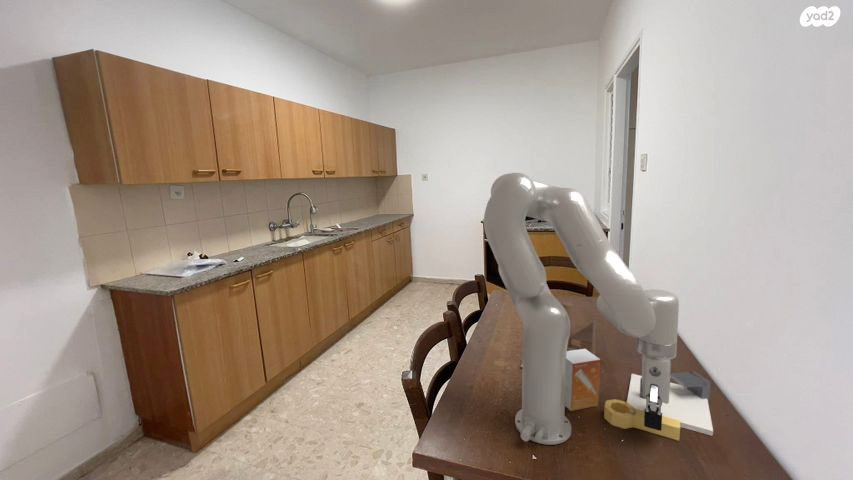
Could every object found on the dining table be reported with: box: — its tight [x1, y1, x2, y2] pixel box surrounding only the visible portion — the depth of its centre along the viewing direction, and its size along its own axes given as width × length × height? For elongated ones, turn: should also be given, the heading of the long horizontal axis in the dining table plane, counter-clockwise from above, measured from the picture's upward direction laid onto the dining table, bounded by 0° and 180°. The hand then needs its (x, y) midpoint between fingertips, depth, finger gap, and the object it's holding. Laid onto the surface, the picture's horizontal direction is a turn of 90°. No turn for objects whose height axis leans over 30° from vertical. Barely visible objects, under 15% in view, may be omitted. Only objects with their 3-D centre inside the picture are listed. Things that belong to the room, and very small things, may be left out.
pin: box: [639, 378, 645, 399], centre depth 92 cm, size 2×2×6 cm
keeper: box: [670, 371, 712, 404], centre depth 93 cm, size 7×5×6 cm
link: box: [603, 399, 681, 441], centre depth 84 cm, size 15×6×3 cm, turn 57°
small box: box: [565, 348, 601, 412], centre depth 92 cm, size 8×6×13 cm
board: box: [626, 373, 714, 437], centre depth 92 cm, size 18×17×1 cm
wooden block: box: [560, 301, 598, 356], centre depth 114 cm, size 4×11×18 cm, turn 50°
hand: (653, 415), depth 82 cm, fingers open, 9 cm apart
